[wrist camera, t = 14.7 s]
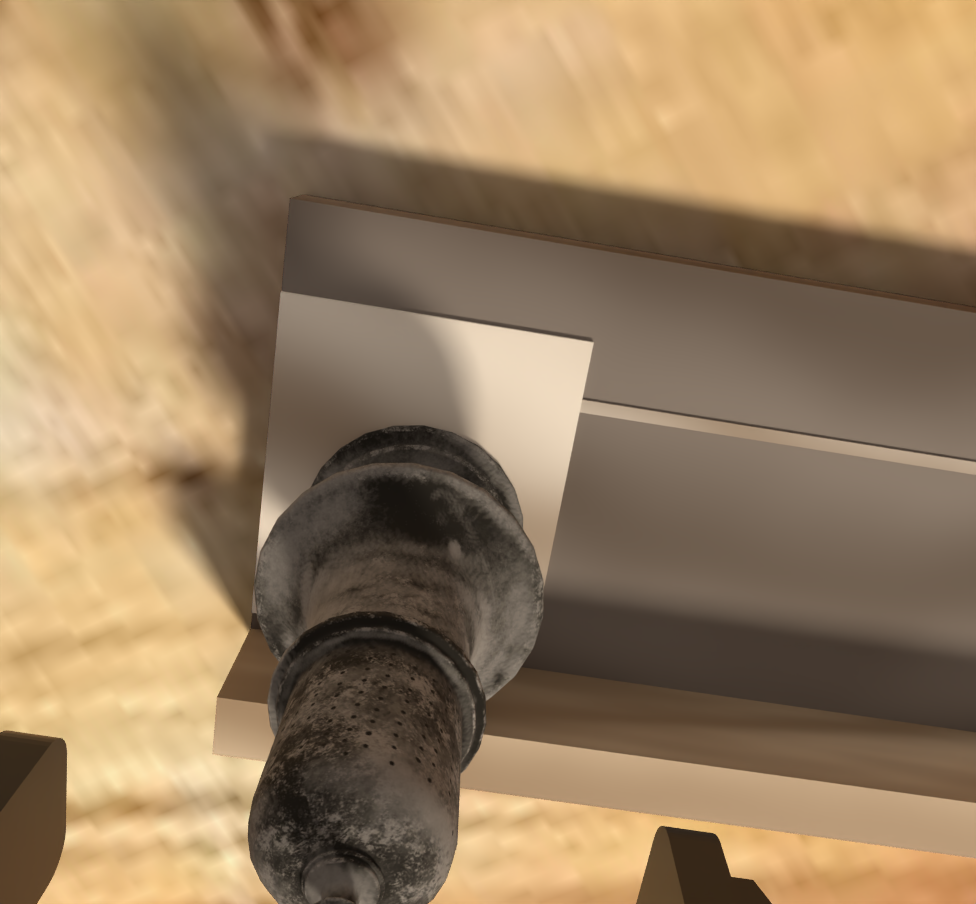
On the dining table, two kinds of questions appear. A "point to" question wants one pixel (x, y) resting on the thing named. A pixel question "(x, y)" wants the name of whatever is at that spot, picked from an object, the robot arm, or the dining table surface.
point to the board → (669, 514)
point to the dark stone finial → (385, 662)
